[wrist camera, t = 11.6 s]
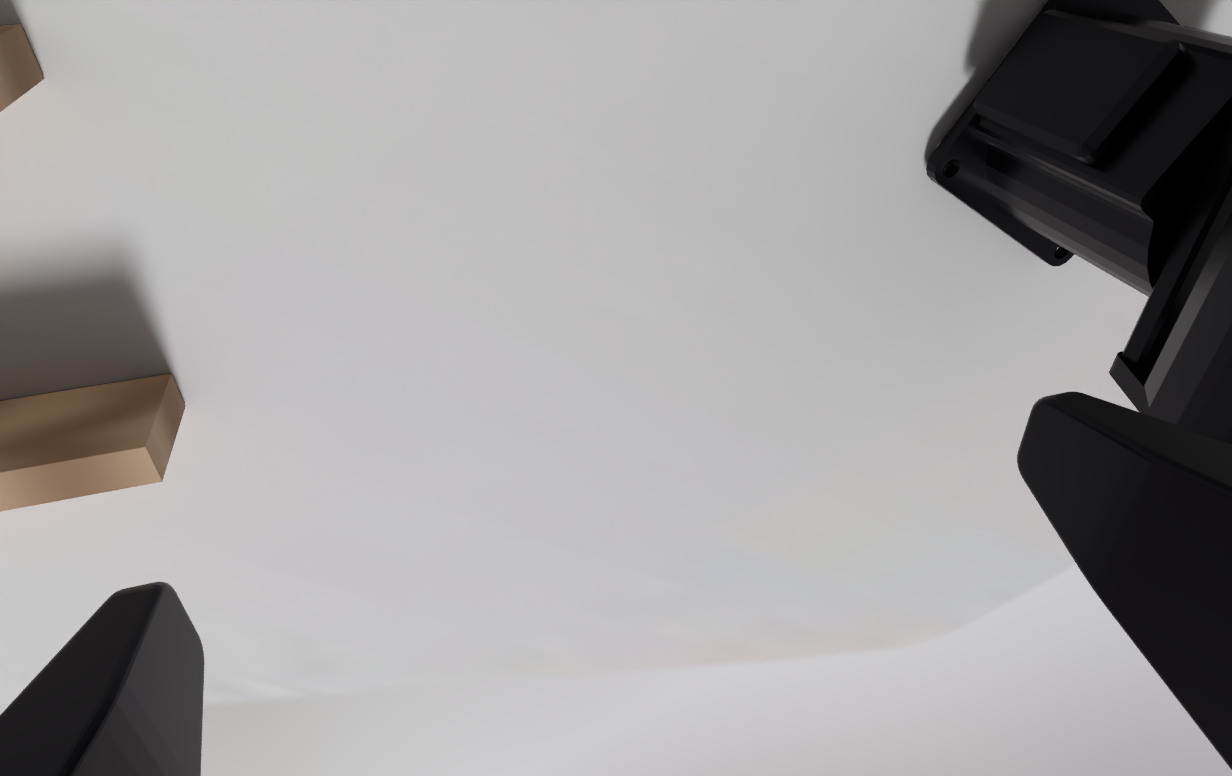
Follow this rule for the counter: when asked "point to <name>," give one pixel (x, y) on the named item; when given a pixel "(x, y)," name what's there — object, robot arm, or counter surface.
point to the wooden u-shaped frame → (78, 396)
